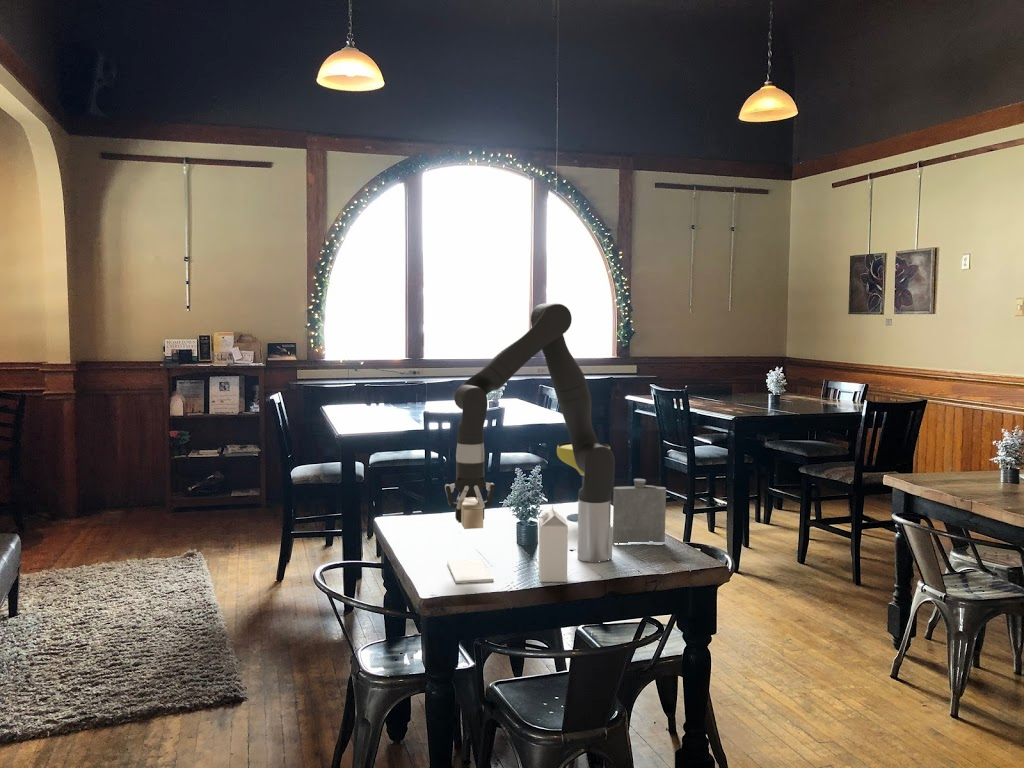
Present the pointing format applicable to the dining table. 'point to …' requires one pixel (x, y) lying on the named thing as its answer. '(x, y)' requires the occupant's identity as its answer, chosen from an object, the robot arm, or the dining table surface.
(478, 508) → the birch block
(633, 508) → the hip flask
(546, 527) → the milk carton
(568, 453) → the cocktail glass
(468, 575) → the white board
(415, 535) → the dining table surface
